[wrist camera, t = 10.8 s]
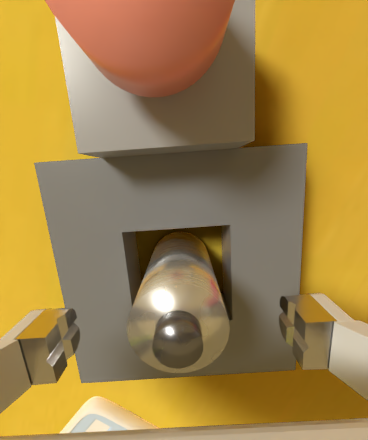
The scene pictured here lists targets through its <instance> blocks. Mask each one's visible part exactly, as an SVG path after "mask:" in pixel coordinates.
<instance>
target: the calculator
mask: <svg viewBox="0 0 368 440" xmlns="http://www.w3.org/2000/svg"><path fill="white" fill-rule="evenodd" d="M139 429H158V427H157V426H155V425H153V424H151V423H150V422H148V421H146V420H144V419H142V418H141V417H139V416H137V415H135V414H134V413H132V412H130V411H128V410H127V409H125V408H123V407H121V406H119V405H118V404H116V403H114V402H112V401H110V400H108V399H106V398H103V397H99V396H95V397H92V398H90V399H89V400H87V401H86V403H85V404H84V405H83V406H82V407H81V408H80V409H79V410H78V412H77V413H76V414H75V415H74V416H73V418H72V419H71V420H70V421H69V422H68V424H67V425H66V426H65V427H64V428H63V430H62V431H61V432H60V433H79V432H99V431H119V430H139ZM60 433H59V434H60Z"/></svg>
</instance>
